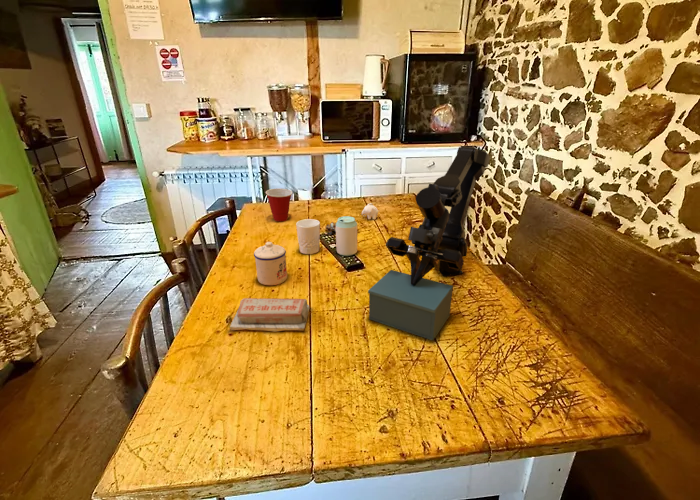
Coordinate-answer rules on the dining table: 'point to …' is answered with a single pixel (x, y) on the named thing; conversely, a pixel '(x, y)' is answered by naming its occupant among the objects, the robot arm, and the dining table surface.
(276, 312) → the packaged product
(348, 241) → the can
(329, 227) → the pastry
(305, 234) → the white cup
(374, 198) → the dining table surface
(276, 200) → the plastic cup
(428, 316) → the box
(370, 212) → the elephant figurine
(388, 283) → the lid
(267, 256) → the teacup with lid
